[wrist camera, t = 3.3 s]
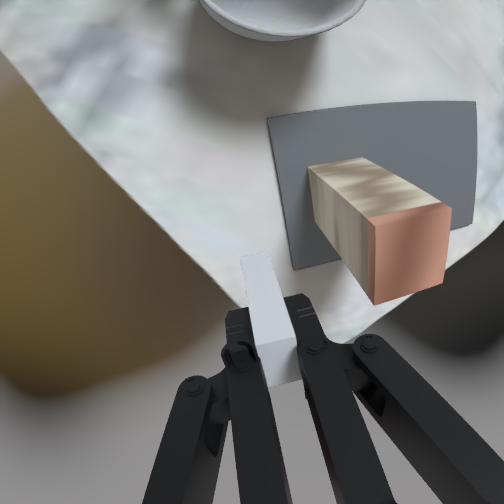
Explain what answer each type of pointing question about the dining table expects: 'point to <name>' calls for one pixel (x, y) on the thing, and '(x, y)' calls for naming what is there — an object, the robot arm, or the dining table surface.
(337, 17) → the teacup
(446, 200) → the mat
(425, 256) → the block
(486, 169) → the dining table surface
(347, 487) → the robot arm
